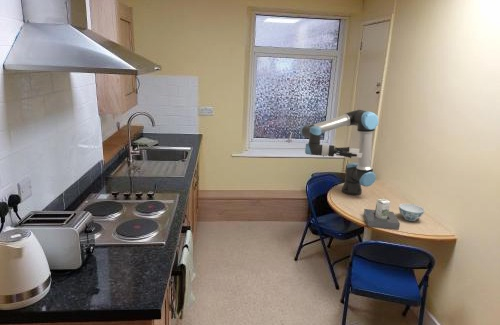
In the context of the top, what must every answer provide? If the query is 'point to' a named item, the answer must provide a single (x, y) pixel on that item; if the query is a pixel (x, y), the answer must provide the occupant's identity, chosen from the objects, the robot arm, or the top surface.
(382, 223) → the collar
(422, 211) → the chinaware
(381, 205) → the syrup box
